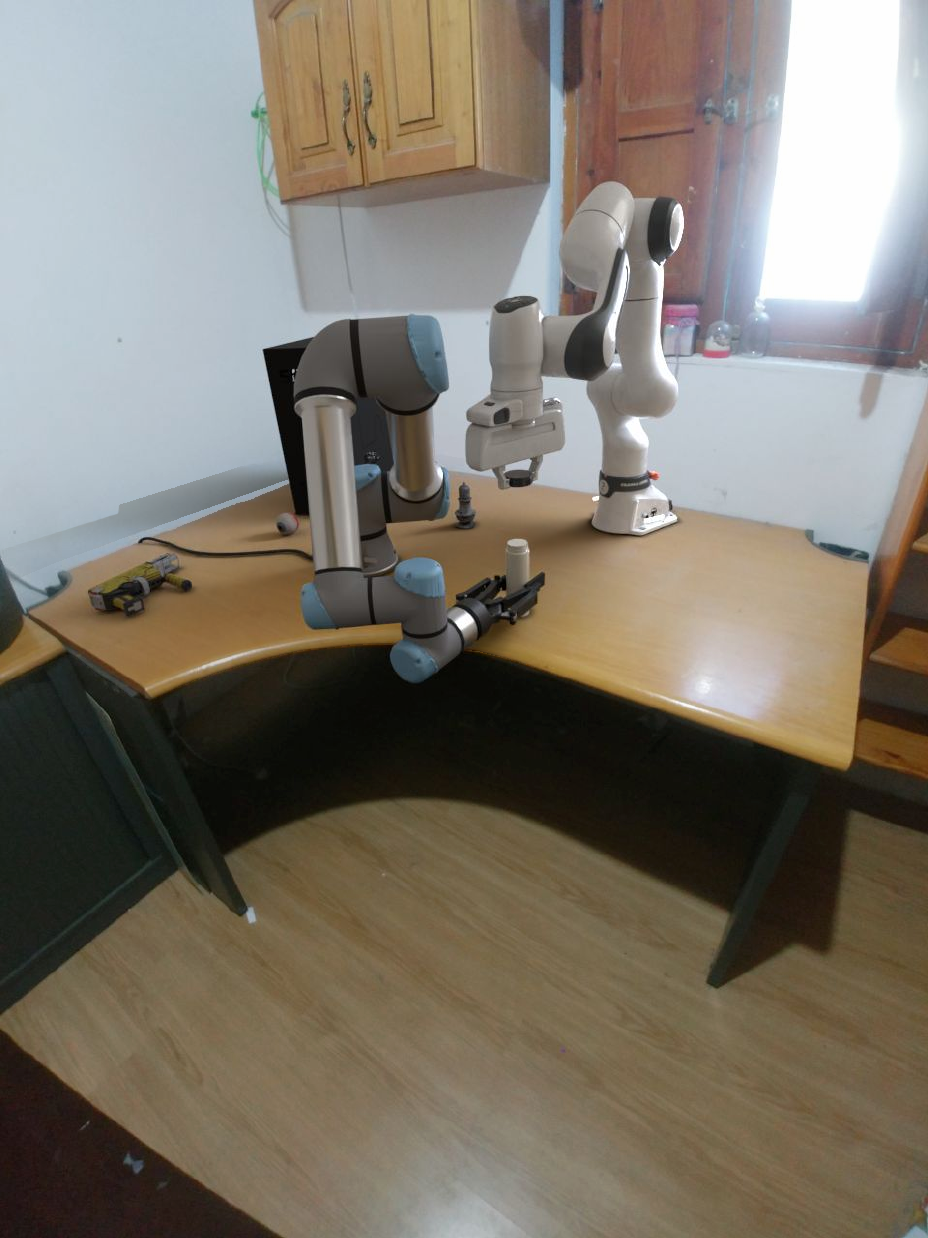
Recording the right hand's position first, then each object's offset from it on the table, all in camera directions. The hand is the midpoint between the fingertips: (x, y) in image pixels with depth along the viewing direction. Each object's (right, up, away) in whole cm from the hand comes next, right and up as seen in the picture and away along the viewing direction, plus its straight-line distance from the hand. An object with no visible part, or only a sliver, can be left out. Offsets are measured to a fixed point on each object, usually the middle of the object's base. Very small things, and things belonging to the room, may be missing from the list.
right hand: (517, 484), depth 109 cm
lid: (0, +1, -1) cm, 2 cm away
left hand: (+4, -16, +13) cm, 21 cm away
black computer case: (-46, +15, +83) cm, 96 cm away
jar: (+1, -23, +12) cm, 26 cm away
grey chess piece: (-9, +1, +55) cm, 56 cm away
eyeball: (-58, -1, +56) cm, 80 cm away
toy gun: (-80, -18, +28) cm, 87 cm away
